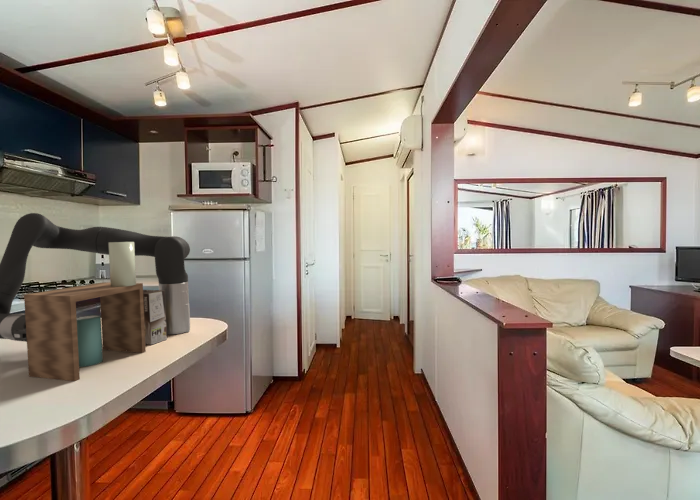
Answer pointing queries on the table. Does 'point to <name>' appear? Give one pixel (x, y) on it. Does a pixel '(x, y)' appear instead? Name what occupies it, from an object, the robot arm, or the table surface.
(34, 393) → the table surface
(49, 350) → the stand
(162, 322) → the coffee box
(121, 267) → the pale green cylinder
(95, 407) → the table surface
